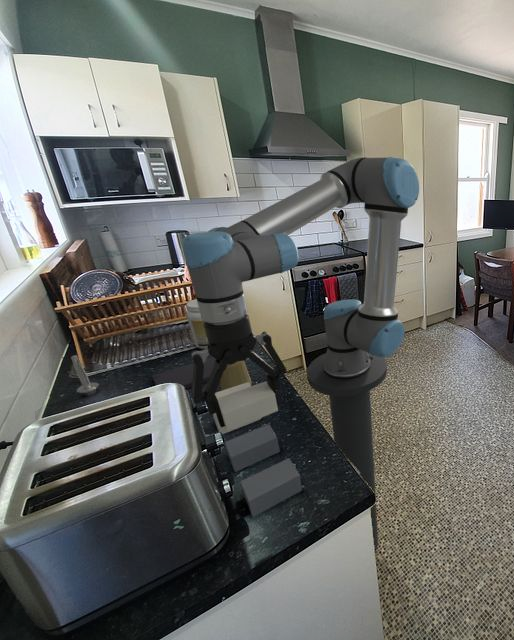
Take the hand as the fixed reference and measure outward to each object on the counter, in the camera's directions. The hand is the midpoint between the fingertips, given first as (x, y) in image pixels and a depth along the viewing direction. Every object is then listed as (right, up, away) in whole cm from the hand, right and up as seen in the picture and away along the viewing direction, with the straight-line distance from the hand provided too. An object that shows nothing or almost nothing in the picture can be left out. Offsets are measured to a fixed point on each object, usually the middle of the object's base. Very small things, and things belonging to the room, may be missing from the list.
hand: (249, 412), depth 74 cm
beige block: (-13, -4, +18) cm, 22 cm away
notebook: (-37, +1, +39) cm, 54 cm away
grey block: (-3, -13, +9) cm, 16 cm away
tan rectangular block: (0, 0, 0) cm, 0 cm away
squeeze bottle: (-18, -3, +30) cm, 35 cm away
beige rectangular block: (-13, -8, +20) cm, 25 cm away
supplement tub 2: (-45, +11, +60) cm, 75 cm away
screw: (-62, -2, +29) cm, 69 cm away
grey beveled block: (+5, -17, -1) cm, 18 cm away
